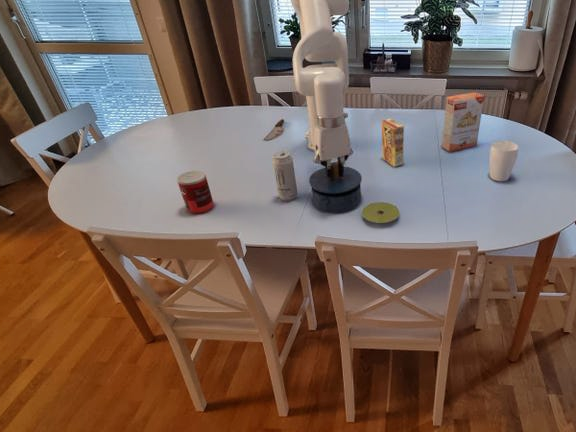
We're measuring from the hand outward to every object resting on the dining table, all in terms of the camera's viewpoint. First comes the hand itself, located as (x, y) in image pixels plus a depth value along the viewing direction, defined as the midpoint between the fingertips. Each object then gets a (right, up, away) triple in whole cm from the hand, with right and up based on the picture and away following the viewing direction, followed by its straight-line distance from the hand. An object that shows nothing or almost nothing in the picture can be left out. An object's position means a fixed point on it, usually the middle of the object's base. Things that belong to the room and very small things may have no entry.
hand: (335, 176), depth 122 cm
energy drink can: (-16, -6, +6) cm, 18 cm away
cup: (+56, +1, +17) cm, 59 cm away
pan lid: (0, -1, +1) cm, 1 cm away
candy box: (+18, +8, +27) cm, 34 cm away
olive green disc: (+14, -13, -4) cm, 19 cm away
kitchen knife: (-32, +25, +53) cm, 67 cm away
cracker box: (+46, +16, +38) cm, 62 cm away
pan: (0, -7, +4) cm, 8 cm away
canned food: (-42, -10, +1) cm, 43 cm away
